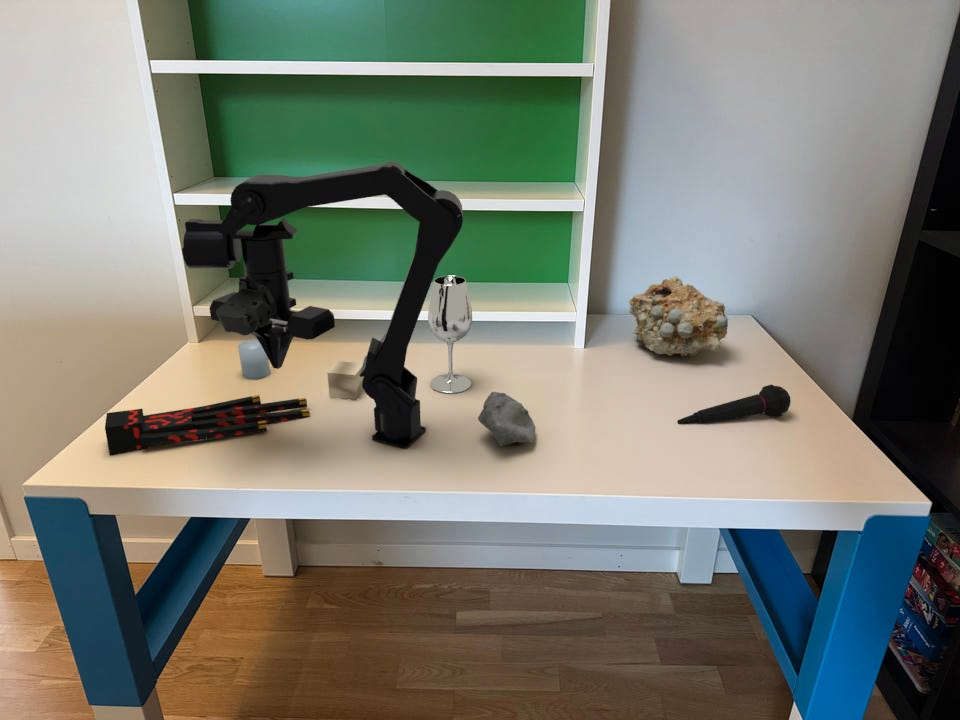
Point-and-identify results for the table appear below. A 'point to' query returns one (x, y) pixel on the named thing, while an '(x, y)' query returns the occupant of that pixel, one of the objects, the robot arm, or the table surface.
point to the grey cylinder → (253, 360)
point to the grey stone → (507, 419)
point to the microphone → (745, 407)
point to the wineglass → (450, 325)
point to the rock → (677, 319)
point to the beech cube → (345, 380)
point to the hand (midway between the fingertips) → (277, 367)
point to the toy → (196, 422)
